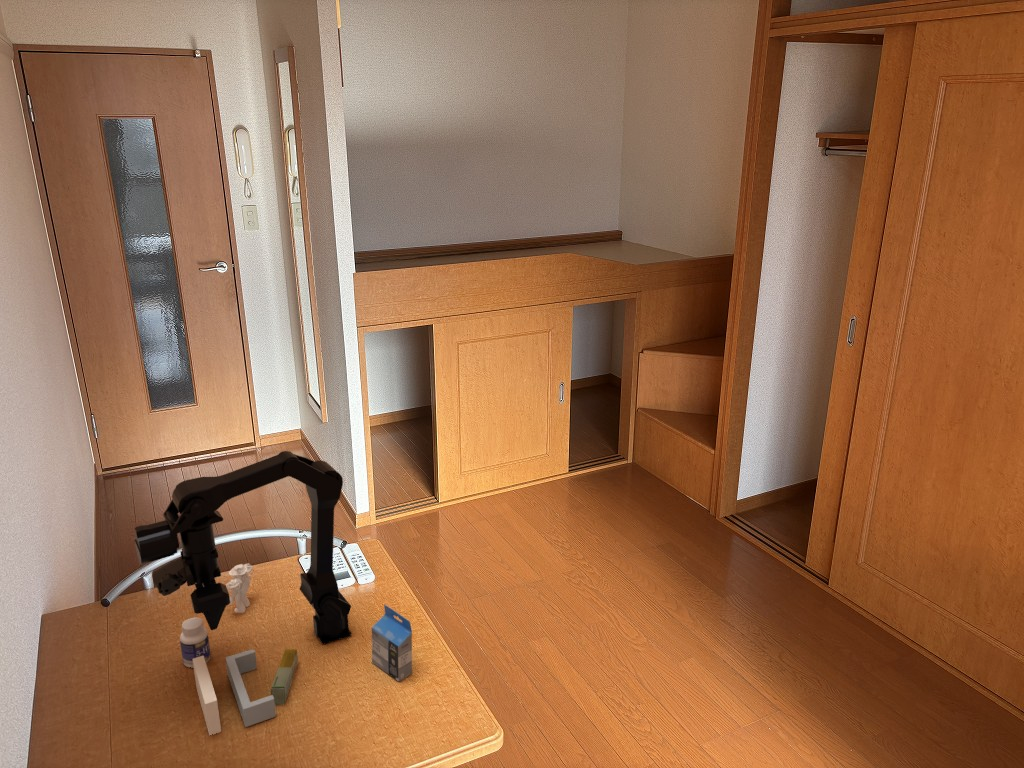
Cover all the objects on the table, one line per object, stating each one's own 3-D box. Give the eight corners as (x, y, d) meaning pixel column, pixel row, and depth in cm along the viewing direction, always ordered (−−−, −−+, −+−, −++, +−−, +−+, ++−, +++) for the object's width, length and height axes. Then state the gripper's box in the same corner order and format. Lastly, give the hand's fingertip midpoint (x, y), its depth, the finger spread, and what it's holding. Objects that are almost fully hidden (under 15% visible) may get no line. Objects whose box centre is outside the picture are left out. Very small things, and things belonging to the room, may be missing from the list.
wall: (207, 685, 147) (203, 655, 145) (221, 731, 136) (217, 700, 134) (196, 688, 146) (192, 658, 144) (209, 735, 135) (205, 704, 133)
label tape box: (371, 662, 154) (368, 611, 151) (386, 653, 157) (384, 603, 153) (398, 683, 149) (396, 630, 145) (414, 673, 152) (412, 621, 148)
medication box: (285, 706, 143) (284, 688, 141) (270, 706, 142) (269, 688, 141) (298, 664, 154) (297, 647, 153) (285, 664, 154) (284, 647, 153)
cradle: (255, 665, 153) (253, 648, 152) (275, 716, 139) (274, 698, 138) (227, 674, 150) (225, 657, 149) (245, 727, 137) (243, 709, 136)
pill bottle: (201, 670, 151) (196, 633, 149) (177, 666, 152) (172, 629, 150) (216, 653, 156) (211, 617, 154) (193, 649, 157) (188, 613, 155)
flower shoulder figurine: (241, 620, 167) (236, 573, 163) (225, 618, 168) (219, 571, 164) (259, 597, 176) (254, 551, 172) (243, 595, 176) (238, 550, 172)
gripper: (146, 535, 145) (159, 603, 150) (157, 583, 129) (171, 657, 134) (207, 520, 150) (217, 587, 155) (225, 565, 135) (235, 637, 140)
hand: (209, 616), depth 146 cm, fingers open, 9 cm apart
